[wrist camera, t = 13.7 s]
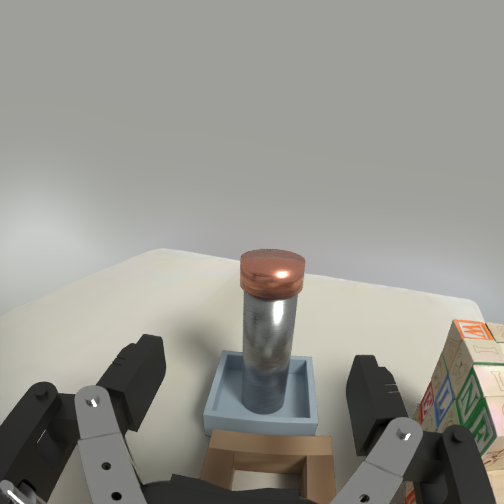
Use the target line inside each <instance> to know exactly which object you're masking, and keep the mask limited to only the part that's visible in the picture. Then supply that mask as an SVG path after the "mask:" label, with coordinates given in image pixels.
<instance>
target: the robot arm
mask: <svg viewBox="0 0 504 504" xmlns="http://www.w3.org/2000/svg"><path fill="white" fill-rule="evenodd" d="M165 373H166V361H165V354H164V347H163V340H162V338H161V337H159V336H154V335H148V334H143V335H142V337H141V338H140V339H139V341H138V342H137V344H134V343H131V344H129V345H128V346H126V347H125V348H123V349H122V350H121V351H120V353H119V354H118V355H117V358H115V360H114V361H113V362H112V364H111V365H110V366H109V368H108V369H107V370H106V372H105V373H104V374H103V376H102V377H101V379H100V380H99V381H98V383H97V384H96V385H92V386H86V387H84V388H82V389H80V390H79V391H78V392H77V393H76V394H63V393H58V391H57V389H56V387H55V386H54V385H53V384H52V383H49V382H39V383H36V384H34V385H32V386H31V387H30V388H29V389H28V391H27V392H26V393H25V394H24V396H23V397H22V398H21V399H20V401H19V402H18V403H17V405H16V406H15V407H14V409H13V410H12V411H11V412H10V414H9V415H8V416H7V418H6V419H5V420H4V422H3V423H2V425H1V426H0V504H47V502H48V500H49V498H50V495H51V493H52V491H53V489H54V487H55V485H56V483H57V481H58V479H59V477H60V475H61V473H62V471H63V469H64V467H65V465H66V463H67V461H68V460H69V458H70V456H71V454H72V452H73V450H74V448H75V446H76V444H78V447H79V452H80V456H81V461H82V465H83V469H84V473H85V477H86V481H87V484H88V488H89V492H90V495H91V498H92V502H93V504H318V503H316V502H314V501H312V500H309V499H306V498H303V497H299V489H277V488H263V489H255V490H245V491H231V490H228V489H225V488H222V487H220V486H217V485H214V484H212V483H209V482H207V481H204V480H201V479H195V478H190V477H185V476H181V475H176V474H172V477H171V480H170V481H158V482H152V483H148V484H145V485H144V483H143V480H142V478H141V476H140V474H139V472H138V469H137V467H136V464H135V462H134V459H133V457H132V454H131V451H130V449H129V446H128V443H127V440H126V438H125V434H126V432H127V430H132V431H135V432H137V431H138V429H139V427H140V425H141V423H142V421H143V419H144V417H145V415H146V413H147V411H148V409H149V407H150V405H151V403H152V401H153V399H154V397H155V395H156V393H157V391H158V389H159V387H160V385H161V383H162V381H163V379H164V376H165ZM346 398H347V403H348V408H349V413H350V419H351V424H352V430H353V436H354V442H355V448H356V454H357V456H366V459H365V460H364V461H363V462H362V463H361V465H360V466H359V467H358V469H357V470H356V472H355V473H354V474H353V475H352V477H351V478H350V479H349V481H348V482H347V483H346V484H345V486H344V487H343V488H342V489H341V491H340V492H339V493H338V494H337V495H336V497H335V498H334V499H333V500H332V501H331V503H330V504H389V503H390V501H391V500H392V498H393V496H394V495H395V493H396V491H397V490H398V488H399V486H400V484H401V483H402V481H411V482H413V487H414V493H415V499H416V504H497V503H496V500H495V496H494V493H493V490H492V487H491V484H490V481H489V478H488V475H487V472H486V469H485V466H484V463H483V460H482V458H481V455H480V452H479V450H478V447H477V445H476V442H475V439H474V437H473V435H472V433H471V431H470V430H469V429H468V428H466V427H464V426H462V425H457V424H455V425H450V426H448V427H447V428H446V429H445V430H444V432H443V433H436V432H429V431H424V430H422V428H421V426H420V425H419V423H417V422H416V421H415V420H413V419H410V418H409V417H408V415H407V412H406V409H405V407H404V404H403V401H402V399H401V396H400V393H399V392H398V388H397V385H396V383H395V380H394V378H393V375H392V374H391V373H390V372H389V371H388V370H387V369H386V368H385V367H379V366H378V364H377V361H376V358H375V356H374V355H356V356H355V358H354V361H353V364H352V368H351V371H350V374H349V378H348V381H347V385H346ZM44 431H45V432H44ZM43 432H44V434H43ZM42 434H43V435H42ZM41 435H42V437H41ZM40 437H41V438H40ZM39 438H40V440H39ZM38 440H39V442H38ZM37 442H38V443H37Z"/></svg>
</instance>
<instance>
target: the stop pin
mask: <svg viewBox="0 0 504 504" xmlns="http://www.w3.org/2000/svg"><path fill="white" fill-rule="evenodd" d="M304 268H305V259H304V258H303V257H302V256H300V255H298V254H296V253H293V252H289V251H285V250H277V249H260V250H253V251H249V252H246V253H244V254H243V255H242V256H241V261H240V286H241V288H242V289H243V290H244V311H243V357H242V403H243V405H244V407H245V408H246V409H247V410H249V411H250V412H253V413H255V414H261V415H267V414H272V413H275V412H277V411H278V410H280V409H281V408H282V407H283V405H284V400H285V394H286V387H287V380H288V372H289V365H290V357H291V349H292V341H293V333H294V325H295V316H296V307H297V297H298V293H300V292H301V290H302V288H303V279H304Z"/></svg>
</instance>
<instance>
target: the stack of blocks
mask: <svg viewBox="0 0 504 504" xmlns="http://www.w3.org/2000/svg"><path fill="white" fill-rule="evenodd" d="M412 419H413V420H415V421H416V422H417V423H419V425H420V426H421V428H422V430H424V431H429V432H436V433H443V432H444V430H445V429H446V428H447V427H448V426H450V425H455V424H457V425H462V426H464V427H466V428H468V429H469V430H470V431H471V433H472V435H473V437H474V439H475V442H476V445H477V447H478V450H479V452H480V455H481V458H482V460H483V463H484V466H485V469H486V472H487V475H488V478H489V481H490V484H491V487H492V490H493V493H494V496H495V500H496V503H497V504H504V324H495V323H488V322H486V323H485V324H484V323H483V322H475V321H466V320H456V319H454V320H453V321H452V324H451V327H450V330H449V333H448V336H447V339H446V342H445V345H444V348H443V351H442V353H441V355H440V358H439V360H438V362H437V365H436V368H435V370H434V372H433V375H432V377H431V381H430V383H429V386H428V388H427V390H426V392H425V395H424V397H423V399H422V401H421V404H419V406H418V407H417V410H416V412H415V414H414V416H413V418H412ZM405 499H406V504H416V499H415V493H414V487H413V482H411V481H406V492H405Z"/></svg>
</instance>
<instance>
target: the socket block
mask: <svg viewBox="0 0 504 504" xmlns="http://www.w3.org/2000/svg"><path fill="white" fill-rule="evenodd" d="M234 470H243V471H253V472H266V473H287V474H301V497H303V498H306V499H309V500H312V501H314V502H316V503H318V504H330V503H331V501H332V500H333V499H334V498H335V497H336V488H335V476H334V465H333V455H332V445H331V436H282V435H265V434H253V433H242V432H233V431H225V430H217V429H213V431H212V435H211V438H210V442H209V446H208V450H207V453H206V457H205V461H204V464H203V468H202V472H201V476H200V479H201V480H204V481H207V482H209V483H212V484H214V485H217V486H220V487H222V488H225V489H228V490H231V486H232V481H233V475H234Z"/></svg>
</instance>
